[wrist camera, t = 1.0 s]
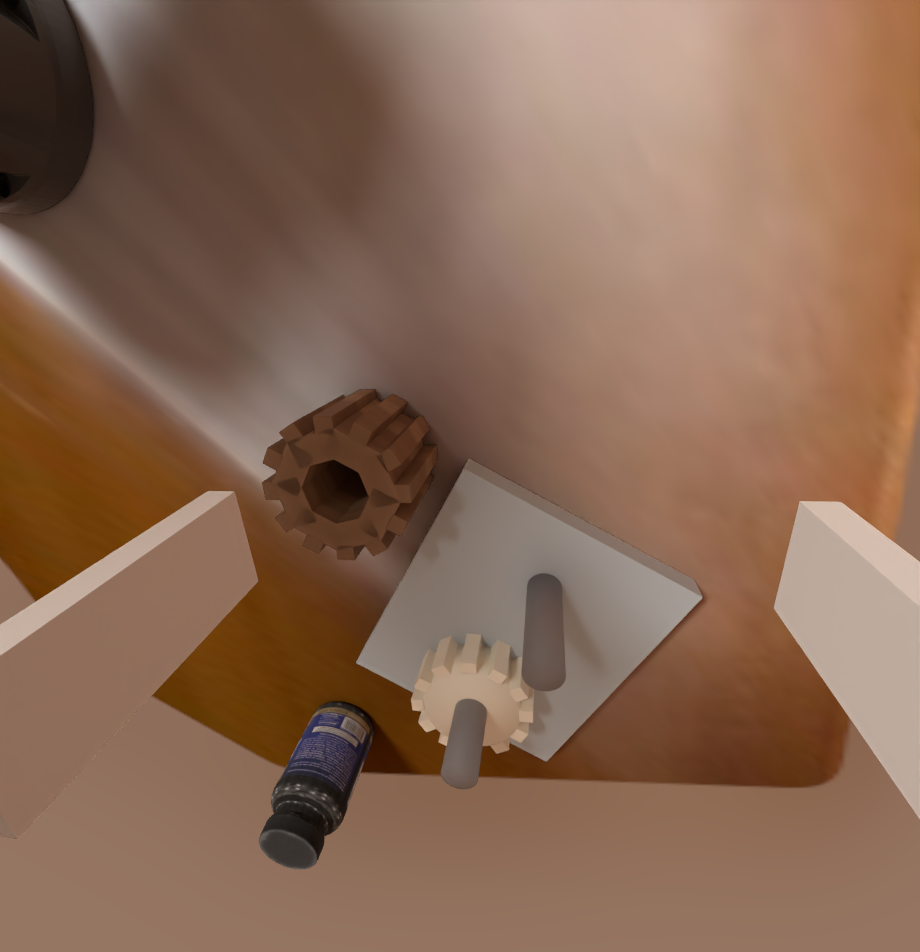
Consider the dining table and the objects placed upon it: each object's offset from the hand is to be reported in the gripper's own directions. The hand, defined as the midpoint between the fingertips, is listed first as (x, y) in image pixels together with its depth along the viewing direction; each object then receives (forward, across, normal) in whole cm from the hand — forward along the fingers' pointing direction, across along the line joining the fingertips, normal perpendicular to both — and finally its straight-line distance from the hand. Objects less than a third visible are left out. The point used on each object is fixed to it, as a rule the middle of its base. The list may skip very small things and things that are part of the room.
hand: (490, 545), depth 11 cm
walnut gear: (+20, -10, -5) cm, 23 cm away
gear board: (+20, -1, -18) cm, 27 cm away
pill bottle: (+20, -17, -32) cm, 42 cm away
